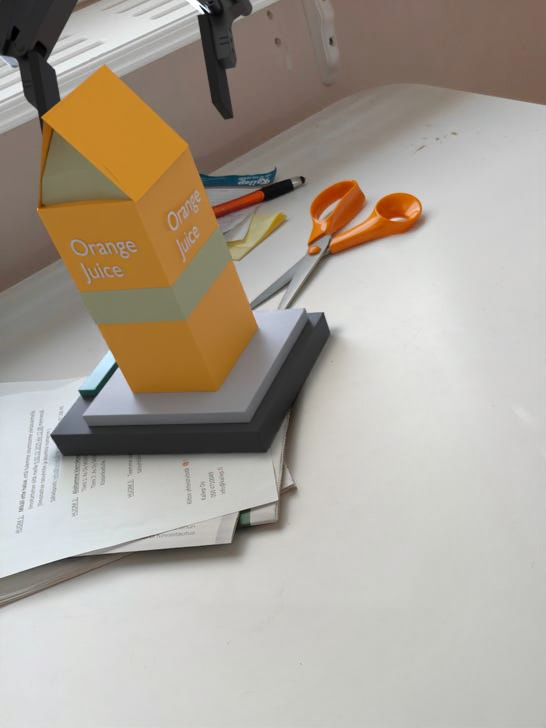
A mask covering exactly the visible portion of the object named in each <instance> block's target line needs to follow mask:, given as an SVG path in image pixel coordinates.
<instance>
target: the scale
mask: <svg viewBox="0 0 546 728" xmlns="http://www.w3.org/2000/svg"><path fill="white" fill-rule="evenodd" d="M252 312H253V315H254V317H255V320H256V322H257V325H258V329H257V331H256V332H255V334H254V335H253V337H252V338H251V340H250V342H249V343H248V345H247V346H246V348H245V349H244V351H243V352H242V354H241V356H240V357H239V359H238V360H237V362H236V363H235V365H234V366H233V368H232V370H231V371H230V373H229V374H228V376H227V377H226V379H225V380H224V382H223V384H222V385H221V387H220V388H219V390H218V391H197V392H158V393H132V391H131V389H130V387H129V385H128V383H127V381H126V379H125V378H124V376H123V374H122V372H121V370H120V368H119V366H118V364H117V362H116V360H115V359H114V357H113V355H112V353H111V351H110V349H109V350H108V351H107V352H106V353H105V355H104V356H103V357H102V358H101V360H100V362H99V363H98V364H97V365H96V366H95V367H94V369H93V370H92V371H91V373H90V374H89V375H88V376H87V378H86V379H85V381H84V382H83V383H82V384H81V386H80V387H79V388H78V390H77V391H78V393H79V396H78V398H76V400H75V402H74V403H73V404H72V405H71V407H70V408H69V409H68V411H67V413H65V414H64V416H63V417H62V419H61V420H60V421H59V422H58V424H57V425H56V426H55V427H54V429H53V430H52V432H51V433H50V434H49V436H50V438H51V440H52V441H53V443H54V445H55V446H56V447H57V449H58V451H59V452H60V454H61V455H62V456H84V455H85V456H87V455H88V456H89V455H91V456H94V455H95V456H97V455H98V456H99V455H100V456H101V455H159V454H162V455H164V454H165V455H167V454H172V455H173V454H175V455H176V454H230V453H231V454H236V453H237V454H238V453H239V454H240V453H241V454H242V453H243V454H245V453H246V454H247V453H248V454H249V453H267V452H268V450H269V448H270V446H271V445H272V442H273V441H274V439H275V437H276V435H277V434H278V432H279V430H280V428H281V425H282V424H283V422H284V420H285V419H286V417H287V414H288V413H289V411H290V409H291V408H292V405H293V403H294V401H295V400H296V399H297V396H298V394H299V393H300V391H301V388H302V387H303V385H304V383H305V381H306V379H307V378H308V375H309V374H310V372H311V370H312V368H313V366H314V364H315V363H316V361H317V359H318V357H319V355H320V354H321V351H322V349H323V348H324V346H325V344H326V342H327V341H328V338H329V337H330V335H331V330H330V327H329V323H328V321H327V318H326V314H325V312H324V311H315V312H308V311H307V309H306V308H305V307H301V308H300V307H297V308H284V309H283V308H280V309H268V310H267V309H265V310H252Z"/></svg>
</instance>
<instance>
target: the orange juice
mask: <svg viewBox="0 0 546 728" xmlns="http://www.w3.org/2000/svg"><path fill="white" fill-rule="evenodd" d="M41 118H42V119H43V135H42V134H41V153H40V167H39V184H38V185H39V186H38V199H37V200H38V203H37V208H36V209H35V211H36V212H37V214H38V216H39V218H40V220H41V222H42V223H43V224H42V225H44V227H45V229H46V231H47V233H48V235H49V237H50V239H51V241H52V243H53V245H54V246H55V249H56V250H57V252H58V254H59V256H60V257H61V260H62V262H63V264H64V265H65V267H66V269H67V272H68V273H69V275H70V277H71V278H72V281H73V282H74V284H75V287H76V288H77V290H78V293H79V296H80V298H81V300H82V301H83V303H84V305H85V307H86V309H87V311H88V313H89V315H90V316H91V319H92V321H93V323H94V324H95V325H96V327H97V328H98V330H99V332H100V334H101V336H102V337H103V339H104V341H105V344H106V345H107V347H108V349H109V350H110V351H111V353H112V355H113V357H114V359H115V360H116V362H117V364H118V366H119V368H120V370H121V372H122V374H123V376H124V378H125V379H126V381H127V383H128V385H129V387H130V389H131V391H132V393H158V392H197V391H218V390H219V388H220V387H221V385H222V384H223V382H224V380H225V379H226V377H227V376H228V374H229V373H230V371H231V370H232V368H233V366H234V365H235V363H236V362H237V360H238V359H239V357H240V356H241V354H242V352H243V351H244V349H245V348H246V346H247V345H248V343H249V342H250V340H251V338H252V337H253V335H254V334H255V332H256V331H257V329H258V325H257V322H256V320H255V317H254V315H253V312H252V311H253V310H252V307H251V304H250V302H249V299H248V297H247V294H246V291H245V289H244V287H243V284H242V281H241V279H240V277H239V274H238V271H237V268H236V266H235V264H234V261H233V257H232V254H231V251H230V249H229V246H228V243H227V241H226V238H225V235H224V233H223V230H222V228H221V225H220V224H219V223H218V220H217V217H216V214H215V211H214V208H213V207H212V204H211V201H210V199H209V196H208V194H207V192H206V188H205V186H204V183H203V181H202V178H201V176H200V173H199V170H198V168H197V166H196V162H195V160H194V157H193V155H192V152H191V149H190V147H189V146H190V144H189V143H188V142H186V141H185V140H184V139H183V138H182V136H180V134H178V133H177V132H176V131H175V130H174V129H173V128H172V127H171V126H170V125H169V124H168V123H167V122H166V121H164V119H163V118H161V116H159V115H158V114H157V113H156V112H155V110H153V108H151V107H150V106H149V105H148V104H147V103H146V102H145V101H144V100H142V98H141V97H140V96H139V95H138V94H137V93H135V92H134V91H133V89H131V87H129V86H128V85H127V84H126V83H125V82H124V81H123V80H122V79H121V78H119V76H118V75H117V74H116V73H115V72H113V70H111V69H110V67H108V66H107V65H106V64H102V65H101V66H100V67H98V69H97V70H95V71H94V72H93V73H92V74H91V75H90V76H88V77H87V78H85V80H83V81H82V82H81V83H80V84H78V85H77V86H76V87H75V88H73V90H71V92H69V93H68V94H67V95H66V96H65V97H63V98H61V101H60V102H59V103H57V104H56V105H55V106H54V107H53V108H51V109H50V110H49V111H48V112H47V113H46V114H44V115H43V116H42V117H41Z"/></svg>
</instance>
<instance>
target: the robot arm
mask: <svg viewBox="0 0 546 728" xmlns="http://www.w3.org/2000/svg"><path fill="white" fill-rule="evenodd" d="M78 2H79V0H0V59H1V60H3V61H4V63H6V65H8V66H9V67H10V68H13V69H17V68H19V75H20V80H21V86H22V91H23V97H24V98H25V100H26V101H27V103H29V104H30V105H31V106H32V107H33V108H34V109H35V110H37V115H38V120H39V121H38V122H39V126H40V131H41V136H42V135H43V119H42V118H41V117H42V116H43V115H44V114H46V113H47V112H48V111H49V110H50V109H51V108H53V107H54V106H55V105H56V104H57V103H59V102H60V101H61V100H62V98H61V94H60V88H59V82H58V77H57V72H56V69H55V68H54V67H53V66H52V65H51V64H50V63H49V62H48V60H49V58H50V56H51V54H52V53H53V50H54V48H55V47H56V45H57V43H58V40H59V39H60V37H61V34H62V33H63V31H64V29H65V27H66V25H67V23H68V21H69V19H70V17H71V15H72V14H73V12H74V10H75V7H76V6H77V4H78ZM186 2H188V3H189V4H190V5H192V6H193V7H194V8H195V9H196V10H197V11H199V13H200V14H197V15H196V16H197V17H196V18H197V21H198V22H197V23H198V29H199V34H200V35H199V36H200V41H201V47H202V52H203V53H202V54H203V58H204V62H205V63H204V64H205V71H206V75H207V81H208V82H207V83H208V87H209V94H210V99H211V104H212V105H213V106H214V108H215V109H216V110H217V112H218V114H219V115H220V116H221V117H222V119H223V120H225V121H226V120H231V119H235V118H234V110H233V106H232V98H231V93H230V87H229V81H228V74H227V70H230V69H234V68H236V66H237V62H238V59H237V53H236V47H235V41H234V35H233V34H234V33H233V29H232V28H233V23H234V21H235V20H236V19H238V18H240V17H244V18H246V17H248V16H250V15H251V14H252V12H253V4H252V3H251V1H250V0H186Z"/></svg>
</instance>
